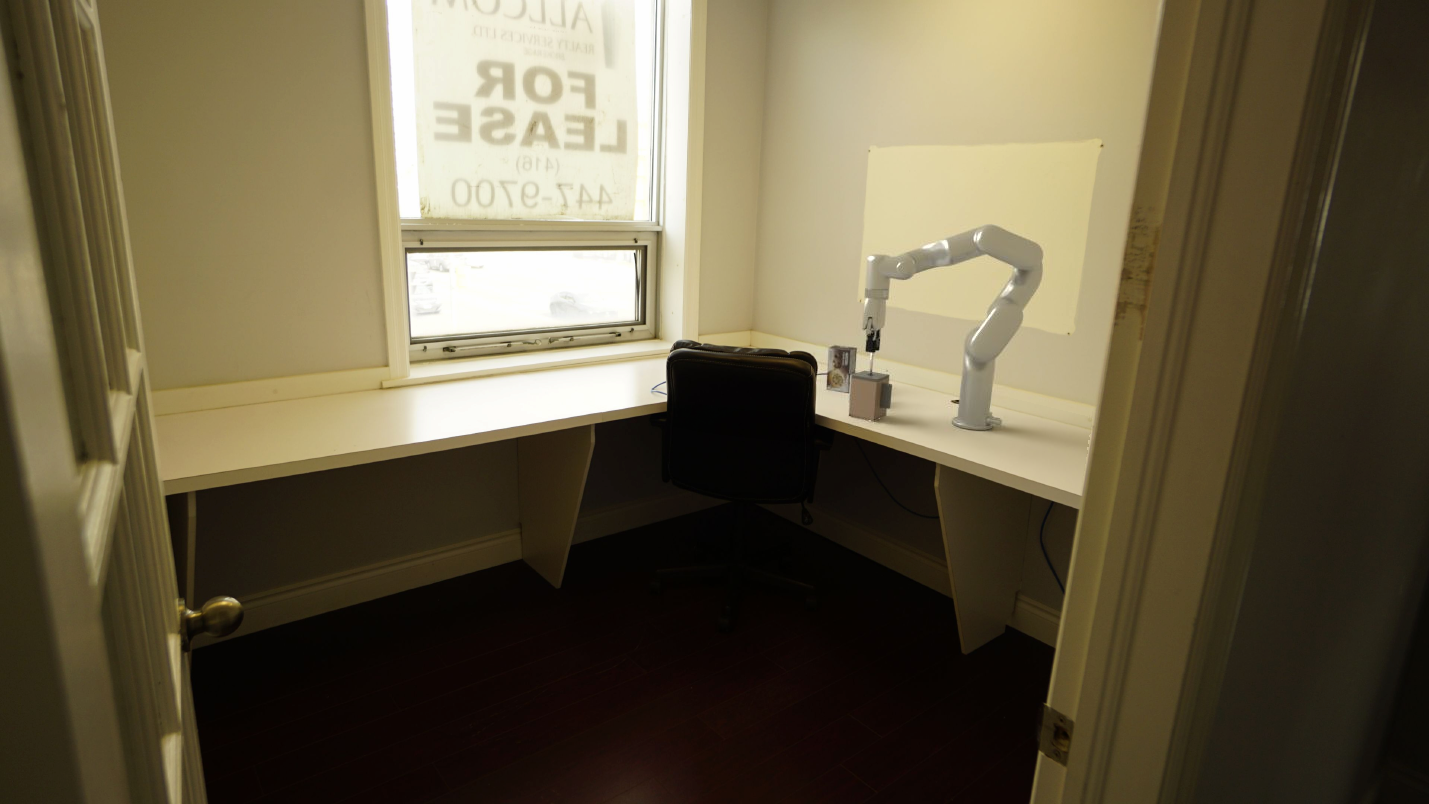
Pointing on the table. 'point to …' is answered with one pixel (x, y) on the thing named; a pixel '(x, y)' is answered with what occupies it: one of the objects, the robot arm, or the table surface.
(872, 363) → the lever with black knob
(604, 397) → the table surface
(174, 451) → the table surface
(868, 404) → the tan lever base
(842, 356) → the coffee box
